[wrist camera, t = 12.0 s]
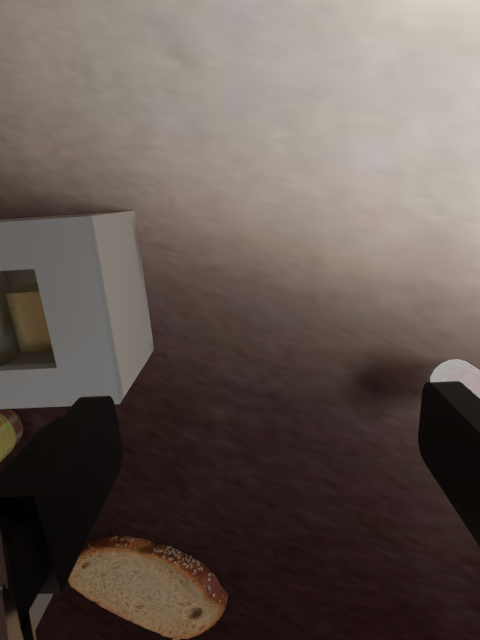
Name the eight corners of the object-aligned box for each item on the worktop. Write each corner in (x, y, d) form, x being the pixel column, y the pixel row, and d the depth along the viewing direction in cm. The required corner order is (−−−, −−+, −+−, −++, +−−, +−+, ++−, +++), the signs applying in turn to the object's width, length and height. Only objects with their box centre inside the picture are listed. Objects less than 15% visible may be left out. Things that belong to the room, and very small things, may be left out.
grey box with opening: (-12, 220, 36) (-118, 229, 26) (134, 210, 36) (85, 216, 25) (23, 355, 41) (-56, 411, 30) (154, 349, 40) (119, 403, 29)
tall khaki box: (50, 276, 37) (5, 293, 30) (80, 274, 37) (42, 291, 30) (60, 325, 38) (20, 352, 32) (89, 323, 38) (55, 350, 32)
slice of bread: (57, 546, 49) (42, 573, 46) (185, 509, 47) (180, 535, 43) (119, 638, 54) (110, 669, 51) (237, 609, 52) (236, 639, 48)
